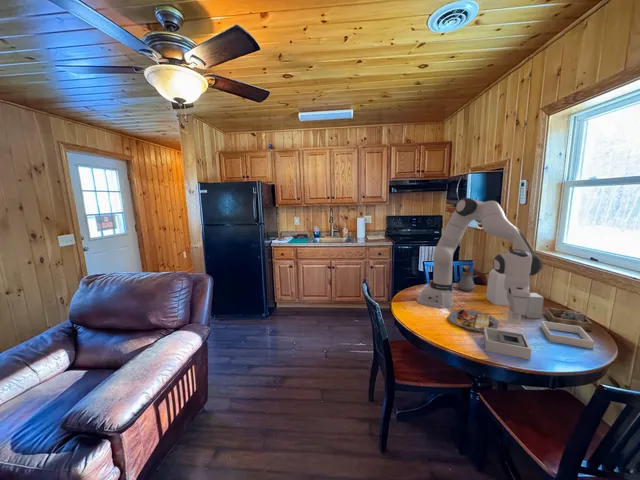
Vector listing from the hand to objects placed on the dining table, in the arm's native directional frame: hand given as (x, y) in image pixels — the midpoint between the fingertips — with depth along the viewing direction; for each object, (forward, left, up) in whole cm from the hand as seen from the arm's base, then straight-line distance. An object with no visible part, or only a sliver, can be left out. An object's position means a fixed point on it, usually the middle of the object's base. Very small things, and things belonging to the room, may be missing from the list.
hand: (514, 316), depth 118 cm
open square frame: (+24, +22, -16) cm, 36 cm away
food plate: (-15, +22, -16) cm, 31 cm away
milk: (+2, +61, -16) cm, 63 cm away
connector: (0, 0, -3) cm, 3 cm away
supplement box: (+15, +44, -16) cm, 49 cm away
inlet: (-1, 0, -16) cm, 16 cm away
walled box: (-3, 0, -16) cm, 16 cm away
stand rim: (+30, +42, -16) cm, 54 cm away
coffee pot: (-12, +78, -16) cm, 80 cm away
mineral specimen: (+32, +41, -16) cm, 54 cm away
